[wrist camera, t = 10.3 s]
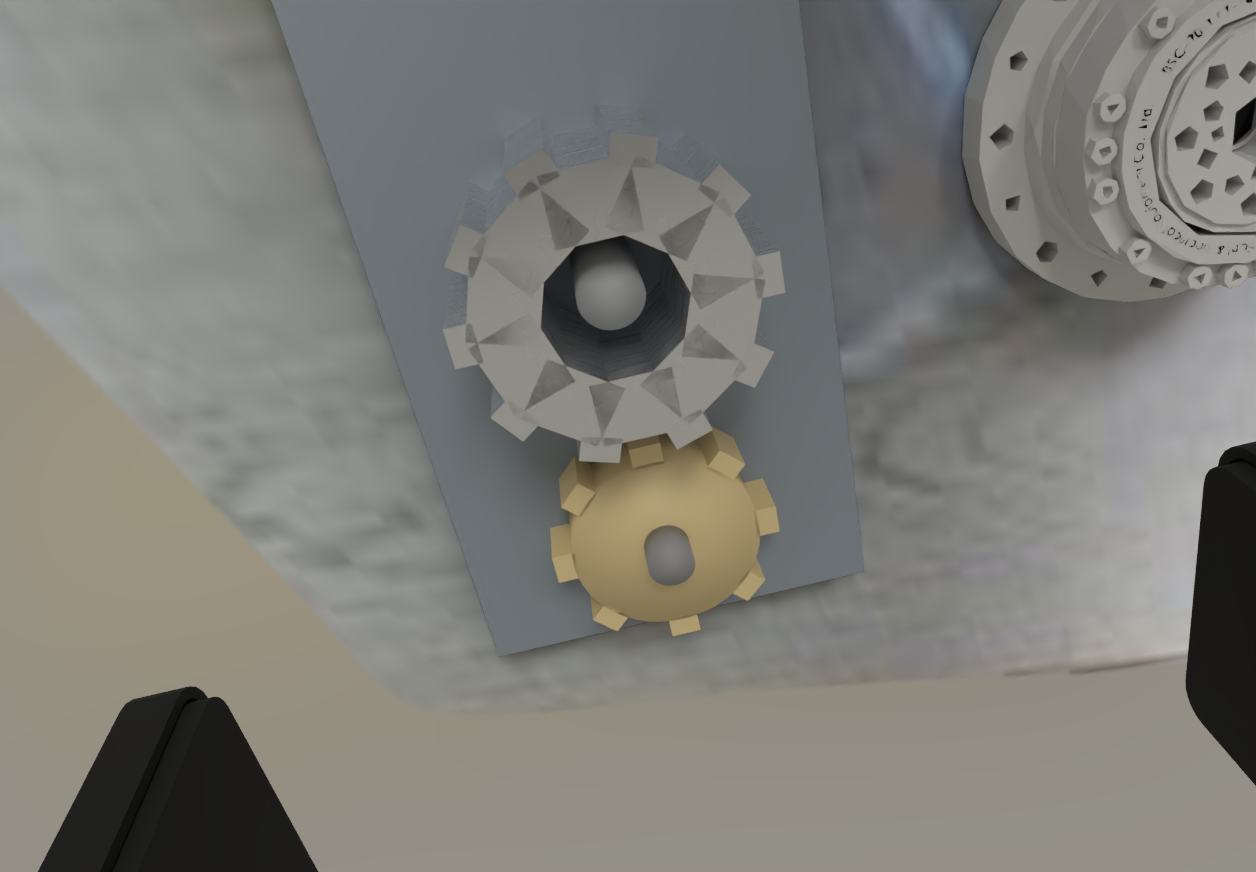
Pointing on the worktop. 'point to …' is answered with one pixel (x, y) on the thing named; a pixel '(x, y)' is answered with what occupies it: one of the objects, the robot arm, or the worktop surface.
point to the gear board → (594, 295)
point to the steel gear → (674, 308)
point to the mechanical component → (1118, 142)
